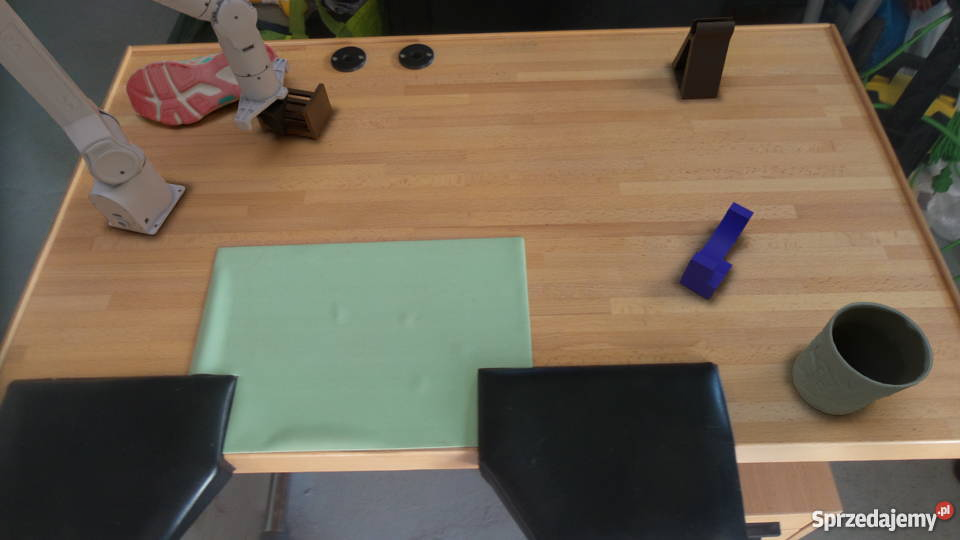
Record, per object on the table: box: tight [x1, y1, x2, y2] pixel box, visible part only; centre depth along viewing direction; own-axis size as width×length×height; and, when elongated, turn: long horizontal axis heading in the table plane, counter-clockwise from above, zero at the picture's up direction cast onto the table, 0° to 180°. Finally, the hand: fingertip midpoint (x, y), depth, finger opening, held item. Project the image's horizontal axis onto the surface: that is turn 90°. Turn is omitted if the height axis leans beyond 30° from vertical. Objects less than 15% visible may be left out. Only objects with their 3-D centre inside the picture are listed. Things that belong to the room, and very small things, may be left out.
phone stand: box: [670, 16, 736, 99], centre depth 95 cm, size 9×6×12 cm, turn 1°
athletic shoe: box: [125, 42, 280, 126], centre depth 99 cm, size 27×9×12 cm
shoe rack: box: [255, 82, 333, 141], centre depth 95 cm, size 7×10×6 cm
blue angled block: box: [678, 201, 755, 301], centre depth 78 cm, size 12×4×6 cm, turn 141°
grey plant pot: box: [791, 301, 934, 416], centre depth 65 cm, size 10×10×12 cm
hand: (280, 132), depth 95 cm, fingers closed
